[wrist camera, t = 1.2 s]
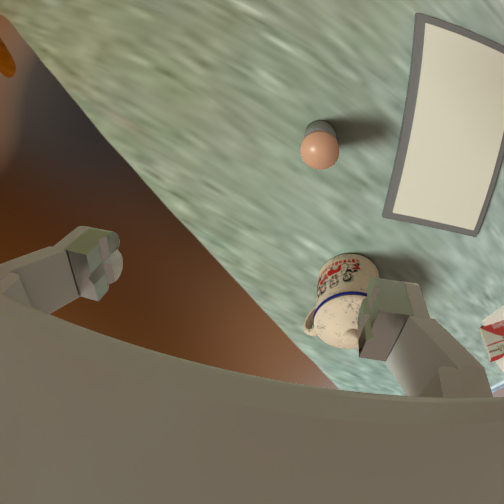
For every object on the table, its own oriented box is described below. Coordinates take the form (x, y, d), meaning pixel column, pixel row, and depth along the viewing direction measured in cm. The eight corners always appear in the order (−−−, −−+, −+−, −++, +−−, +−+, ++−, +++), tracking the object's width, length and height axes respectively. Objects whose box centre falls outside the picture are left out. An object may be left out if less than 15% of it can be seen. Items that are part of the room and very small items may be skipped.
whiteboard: (415, 13, 23) (417, 12, 22) (516, 54, 21) (521, 55, 20) (382, 214, 37) (383, 218, 36) (474, 234, 35) (477, 238, 34)
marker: (306, 117, 33) (302, 130, 27) (337, 122, 32) (341, 136, 26) (303, 146, 35) (298, 166, 29) (333, 151, 34) (336, 172, 28)
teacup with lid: (355, 238, 40) (362, 298, 30) (392, 282, 42) (404, 344, 32) (287, 284, 46) (275, 345, 36) (326, 320, 48) (322, 381, 39)
